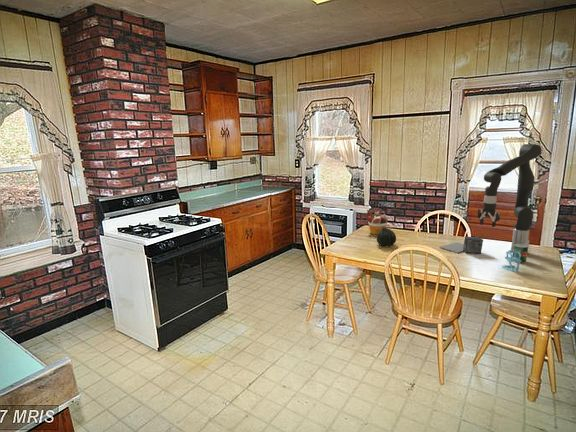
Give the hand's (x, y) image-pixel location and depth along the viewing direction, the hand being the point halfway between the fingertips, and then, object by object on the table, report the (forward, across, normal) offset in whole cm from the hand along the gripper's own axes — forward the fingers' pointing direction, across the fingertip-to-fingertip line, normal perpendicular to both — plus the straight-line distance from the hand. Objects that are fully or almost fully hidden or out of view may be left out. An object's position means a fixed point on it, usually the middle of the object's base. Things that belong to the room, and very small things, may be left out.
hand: (487, 225), depth 237 cm
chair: (+22, -23, +9) cm, 33 cm away
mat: (+22, +21, 0) cm, 30 cm away
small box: (+22, +9, 0) cm, 24 cm away
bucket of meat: (+22, +85, +20) cm, 90 cm away
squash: (+22, +56, +37) cm, 71 cm away
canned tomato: (+22, -18, -9) cm, 30 cm away
